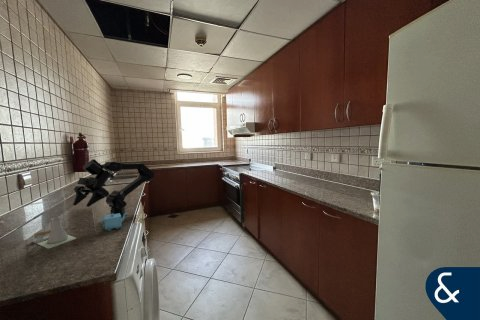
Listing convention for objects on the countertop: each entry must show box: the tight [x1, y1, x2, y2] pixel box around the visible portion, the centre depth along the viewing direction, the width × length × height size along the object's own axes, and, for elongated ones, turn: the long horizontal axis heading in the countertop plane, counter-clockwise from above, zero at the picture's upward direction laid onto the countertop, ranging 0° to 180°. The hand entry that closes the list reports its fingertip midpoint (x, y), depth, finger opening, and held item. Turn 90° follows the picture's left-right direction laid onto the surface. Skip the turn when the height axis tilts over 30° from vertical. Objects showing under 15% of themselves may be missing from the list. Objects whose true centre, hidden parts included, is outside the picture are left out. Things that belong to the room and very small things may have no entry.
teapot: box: [100, 212, 128, 232], centre depth 104 cm, size 12×6×8 cm, turn 125°
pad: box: [36, 234, 77, 250], centre depth 91 cm, size 10×10×1 cm
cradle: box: [31, 234, 50, 244], centre depth 94 cm, size 10×4×3 cm, turn 153°
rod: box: [33, 228, 52, 237], centre depth 94 cm, size 9×2×2 cm, turn 153°
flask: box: [47, 216, 69, 243], centre depth 91 cm, size 7×7×10 cm
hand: (80, 205), depth 101 cm, fingers open, 9 cm apart
